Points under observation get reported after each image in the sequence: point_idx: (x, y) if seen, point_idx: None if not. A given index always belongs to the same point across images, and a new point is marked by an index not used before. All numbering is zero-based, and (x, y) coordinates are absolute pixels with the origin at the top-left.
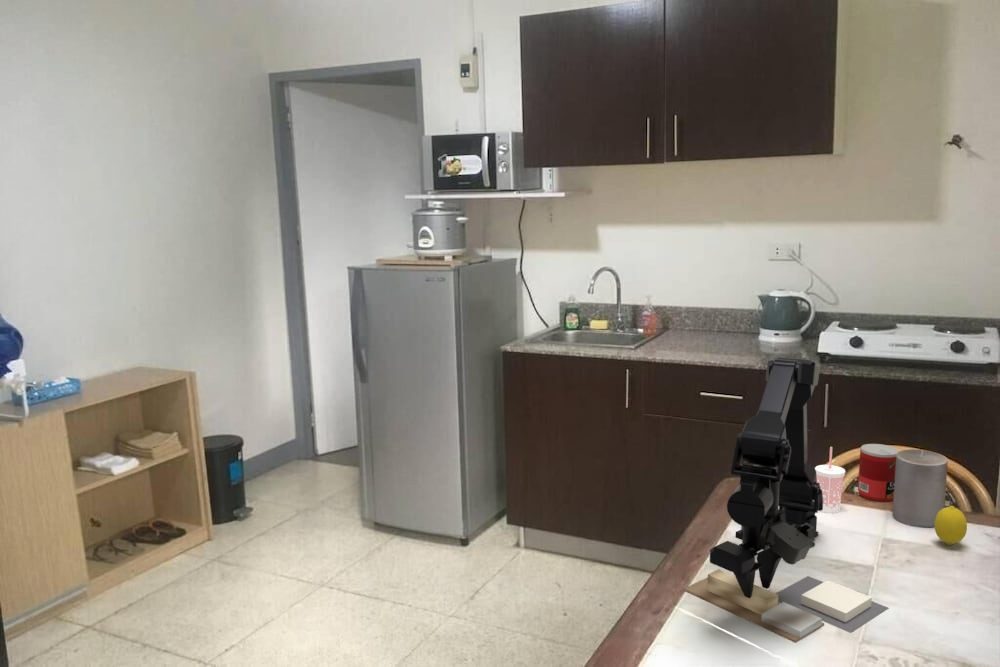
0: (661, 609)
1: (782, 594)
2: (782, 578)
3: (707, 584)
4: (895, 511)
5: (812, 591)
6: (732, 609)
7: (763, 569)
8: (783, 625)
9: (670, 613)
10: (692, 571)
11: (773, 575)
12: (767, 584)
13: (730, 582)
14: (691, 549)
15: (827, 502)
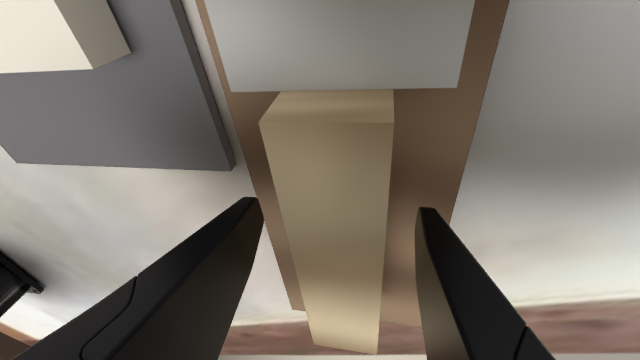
0: (564, 320)
1: (167, 150)
2: (110, 202)
3: None
4: None
5: (14, 53)
6: (440, 207)
7: (214, 313)
8: None
9: (577, 302)
10: (308, 327)
11: (182, 247)
12: (247, 216)
13: (364, 305)
14: (242, 345)
15: None
